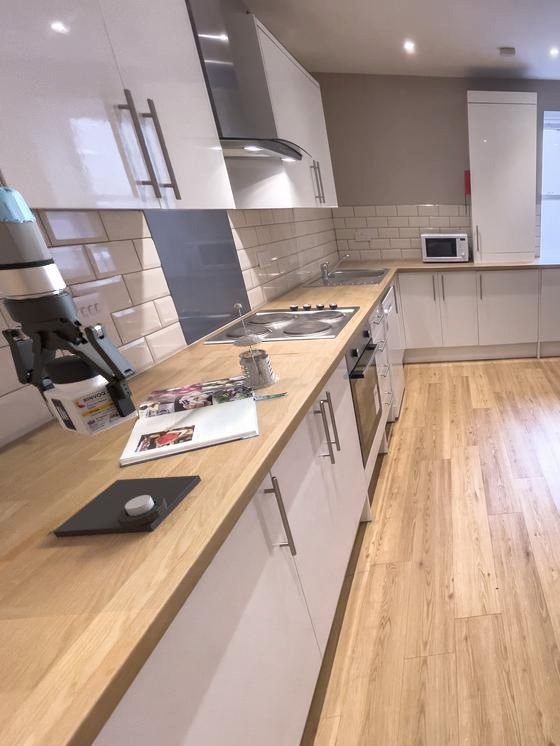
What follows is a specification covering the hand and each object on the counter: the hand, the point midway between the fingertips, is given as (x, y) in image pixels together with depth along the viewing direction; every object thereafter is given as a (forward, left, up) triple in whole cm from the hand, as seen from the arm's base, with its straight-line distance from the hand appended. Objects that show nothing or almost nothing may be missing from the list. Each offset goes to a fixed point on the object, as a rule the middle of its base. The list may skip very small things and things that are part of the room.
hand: (98, 415), depth 75 cm
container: (0, 0, -2) cm, 2 cm away
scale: (+3, -5, -17) cm, 18 cm away
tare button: (+8, -9, -15) cm, 19 cm away
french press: (+1, +50, -18) cm, 53 cm away
